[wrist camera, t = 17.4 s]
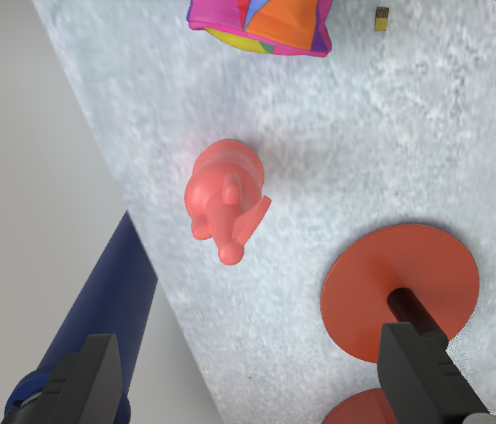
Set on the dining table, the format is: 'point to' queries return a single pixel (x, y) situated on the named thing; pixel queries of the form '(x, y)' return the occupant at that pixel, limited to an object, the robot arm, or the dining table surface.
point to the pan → (363, 410)
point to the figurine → (226, 197)
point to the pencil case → (265, 24)
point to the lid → (399, 288)
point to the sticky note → (381, 19)
